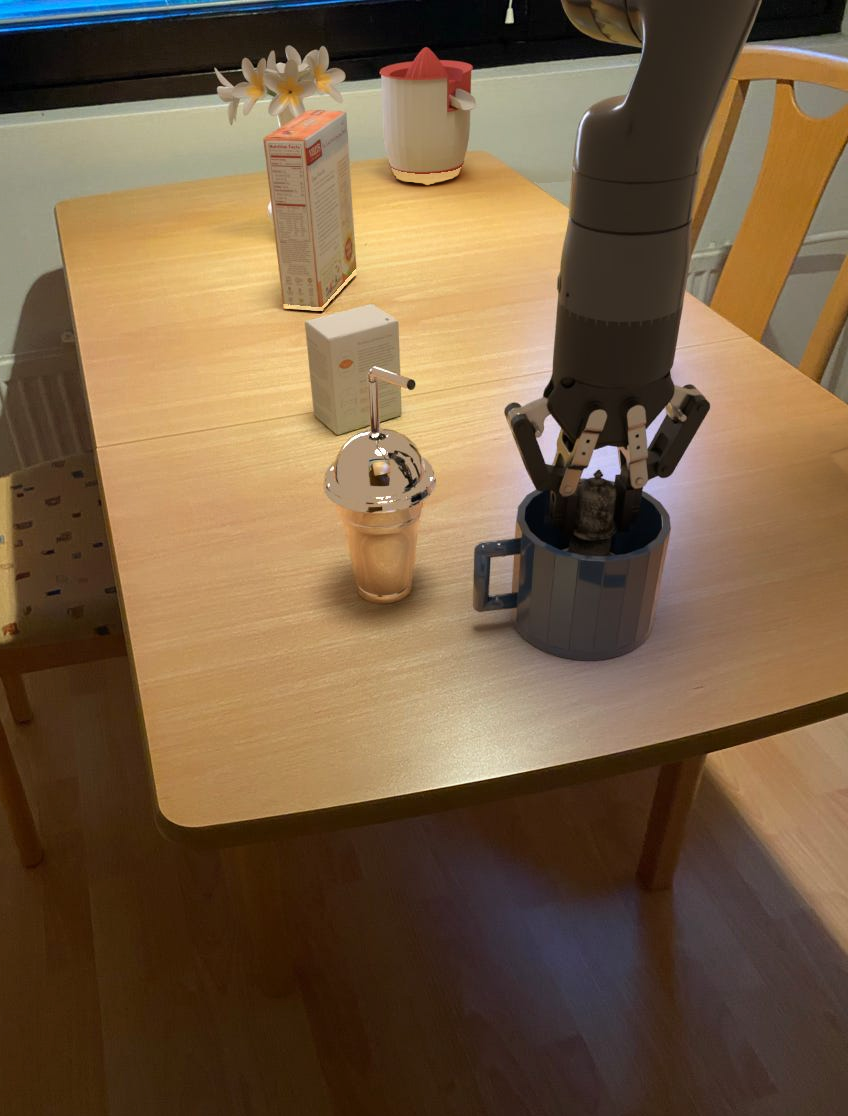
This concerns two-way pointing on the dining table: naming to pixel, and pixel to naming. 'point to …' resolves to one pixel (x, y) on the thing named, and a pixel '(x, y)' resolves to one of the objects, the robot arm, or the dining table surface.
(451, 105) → the citrus juicer
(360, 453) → the cup with straw
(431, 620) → the dining table surface
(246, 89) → the flower vase
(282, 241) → the cracker box
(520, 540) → the mug
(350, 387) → the small box
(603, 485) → the salt shaker
